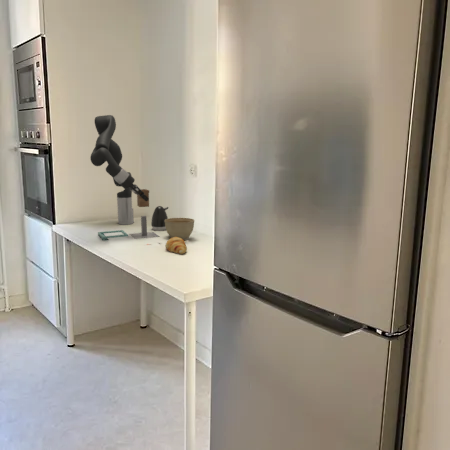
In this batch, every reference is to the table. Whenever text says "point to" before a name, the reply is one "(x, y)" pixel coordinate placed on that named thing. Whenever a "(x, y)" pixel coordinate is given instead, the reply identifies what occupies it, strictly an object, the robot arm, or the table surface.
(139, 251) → the table surface
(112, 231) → the tray
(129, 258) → the table surface
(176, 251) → the croissant
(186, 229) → the planter bowl
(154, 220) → the black electric kettle
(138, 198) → the collar
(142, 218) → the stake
